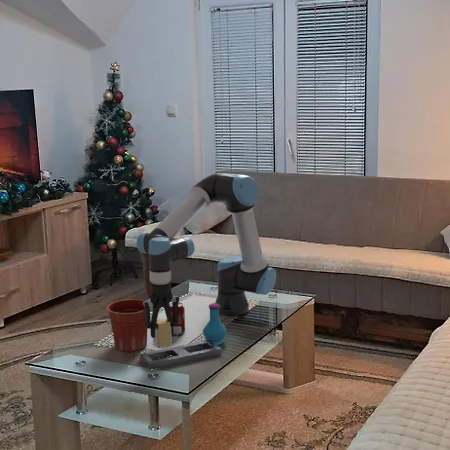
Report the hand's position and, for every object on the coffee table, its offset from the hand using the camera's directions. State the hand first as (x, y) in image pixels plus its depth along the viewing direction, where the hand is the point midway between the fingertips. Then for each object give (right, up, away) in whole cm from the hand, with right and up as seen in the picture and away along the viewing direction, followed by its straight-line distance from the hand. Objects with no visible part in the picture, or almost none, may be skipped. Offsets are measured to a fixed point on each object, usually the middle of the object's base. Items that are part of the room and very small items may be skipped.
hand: (162, 344), depth 252 cm
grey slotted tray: (+6, -6, +5) cm, 10 cm away
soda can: (+3, -1, +30) cm, 30 cm away
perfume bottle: (+19, -3, +20) cm, 27 cm away
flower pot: (-14, -4, +17) cm, 22 cm away
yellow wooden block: (0, 0, 0) cm, 0 cm away
